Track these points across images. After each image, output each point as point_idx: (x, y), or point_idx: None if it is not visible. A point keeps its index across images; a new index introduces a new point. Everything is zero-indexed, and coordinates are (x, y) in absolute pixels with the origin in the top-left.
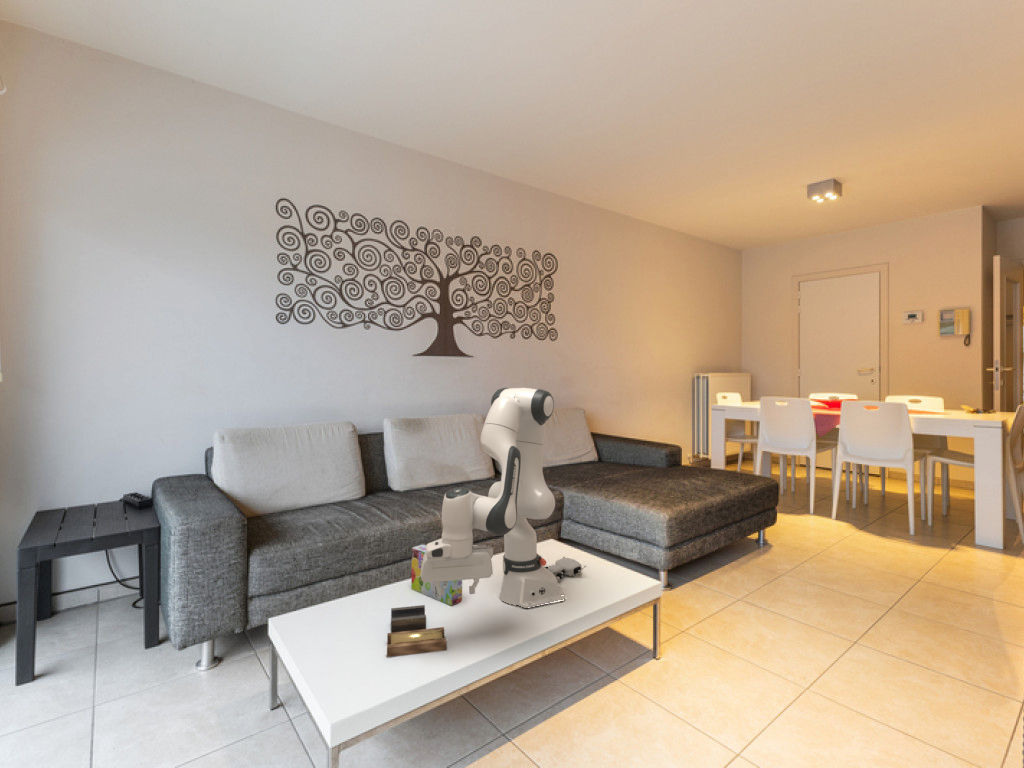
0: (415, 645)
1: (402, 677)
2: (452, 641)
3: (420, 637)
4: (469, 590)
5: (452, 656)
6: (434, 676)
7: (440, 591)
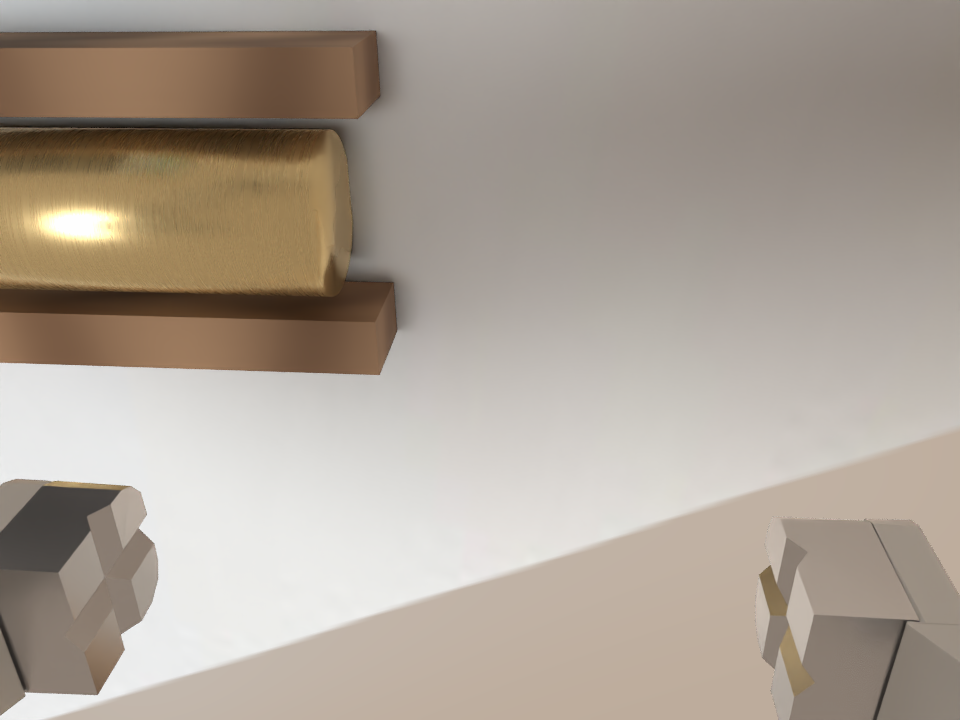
0: (70, 362)
1: None
2: (467, 185)
3: (86, 286)
4: (780, 568)
5: (444, 434)
6: (299, 620)
7: (11, 684)
